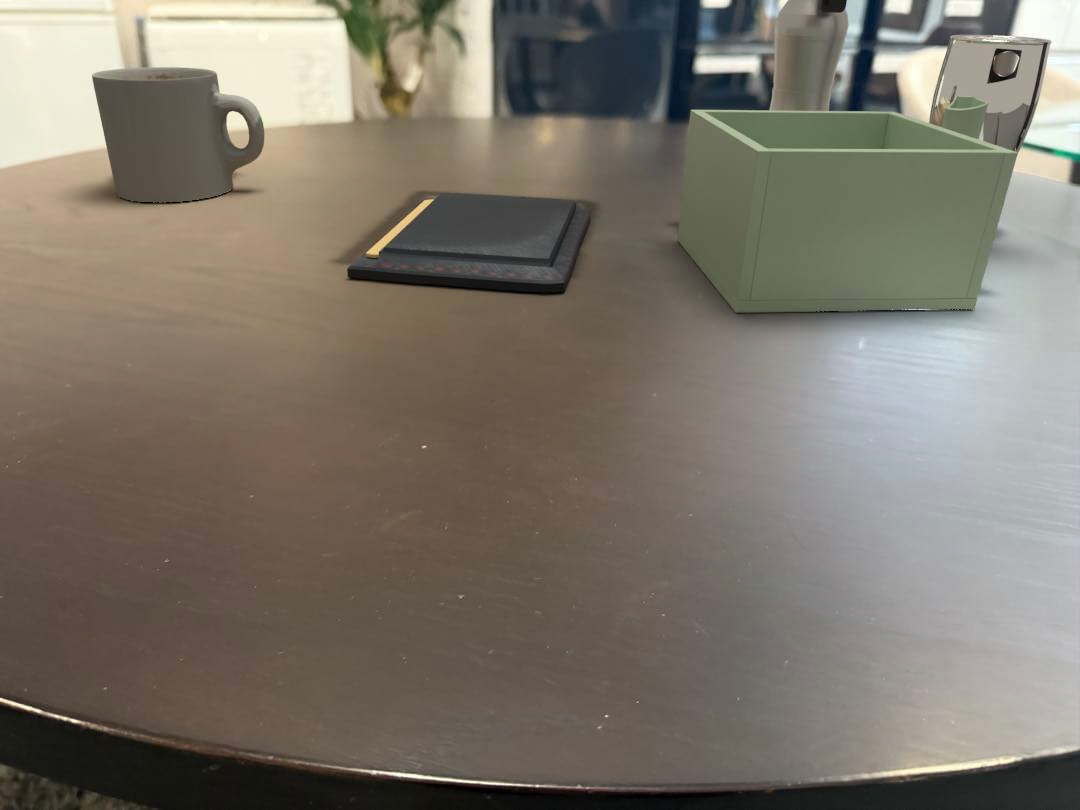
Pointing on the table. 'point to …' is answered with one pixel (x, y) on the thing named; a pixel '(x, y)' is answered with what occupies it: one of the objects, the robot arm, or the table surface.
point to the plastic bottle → (806, 56)
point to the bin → (839, 210)
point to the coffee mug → (172, 133)
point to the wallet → (480, 244)
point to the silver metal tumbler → (990, 87)
